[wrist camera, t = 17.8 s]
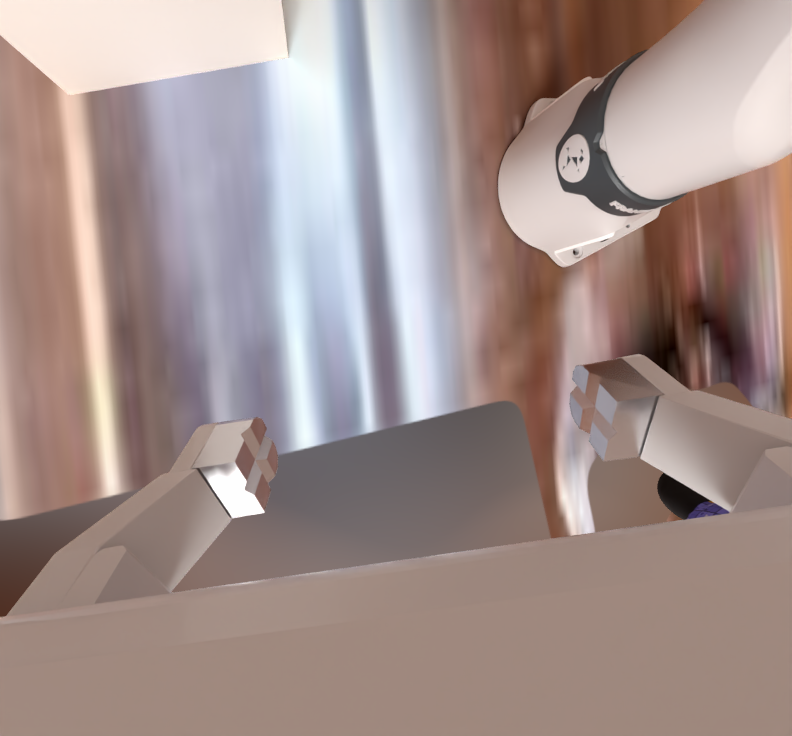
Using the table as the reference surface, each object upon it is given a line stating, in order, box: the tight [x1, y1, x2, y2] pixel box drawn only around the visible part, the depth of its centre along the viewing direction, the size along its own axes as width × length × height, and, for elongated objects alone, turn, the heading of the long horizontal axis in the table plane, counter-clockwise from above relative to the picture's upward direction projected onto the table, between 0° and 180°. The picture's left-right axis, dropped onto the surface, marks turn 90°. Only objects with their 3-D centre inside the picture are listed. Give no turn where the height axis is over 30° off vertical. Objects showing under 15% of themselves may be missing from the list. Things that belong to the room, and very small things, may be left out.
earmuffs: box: [657, 473, 730, 520], centre depth 44 cm, size 28×9×20 cm, turn 90°
